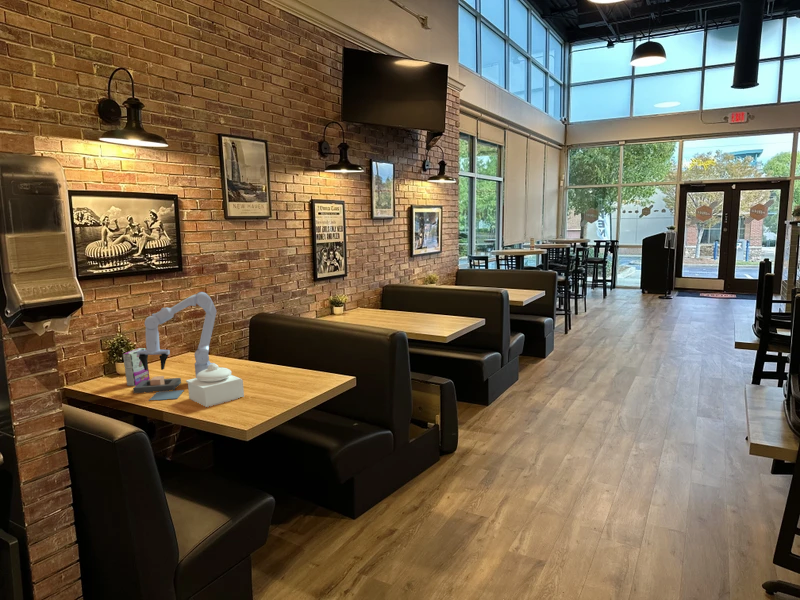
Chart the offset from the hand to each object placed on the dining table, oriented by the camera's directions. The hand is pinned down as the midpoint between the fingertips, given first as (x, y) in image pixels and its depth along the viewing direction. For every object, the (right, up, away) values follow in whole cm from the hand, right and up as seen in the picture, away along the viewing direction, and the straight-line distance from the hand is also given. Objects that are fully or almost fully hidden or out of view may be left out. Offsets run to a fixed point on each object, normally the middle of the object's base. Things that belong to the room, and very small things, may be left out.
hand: (154, 369), depth 253 cm
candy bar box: (-13, -8, +11) cm, 20 cm away
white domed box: (+35, -11, -17) cm, 41 cm away
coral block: (+1, -9, +1) cm, 9 cm away
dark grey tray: (+1, -9, +1) cm, 9 cm away
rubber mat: (+11, -11, -11) cm, 19 cm away
